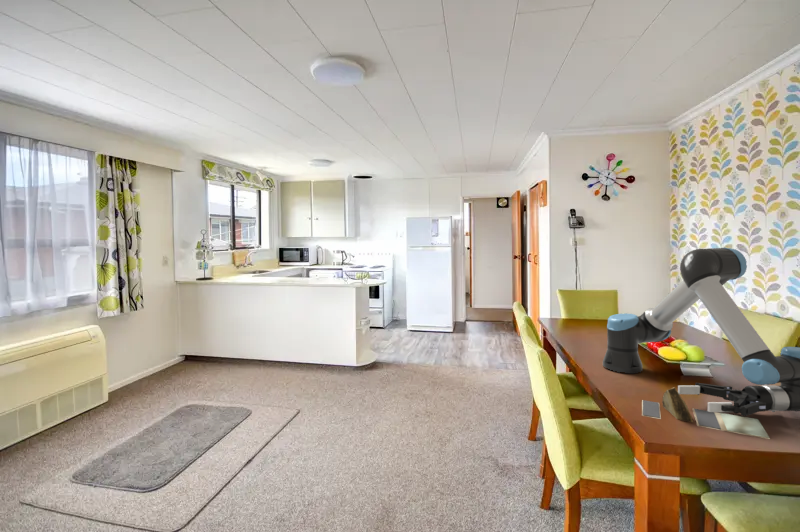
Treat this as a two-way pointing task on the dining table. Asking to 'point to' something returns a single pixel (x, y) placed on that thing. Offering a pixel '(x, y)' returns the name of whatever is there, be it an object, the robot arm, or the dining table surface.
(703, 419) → the trap middle
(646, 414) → the trap near
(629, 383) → the dining table surface
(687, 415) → the rock
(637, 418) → the dining table surface
